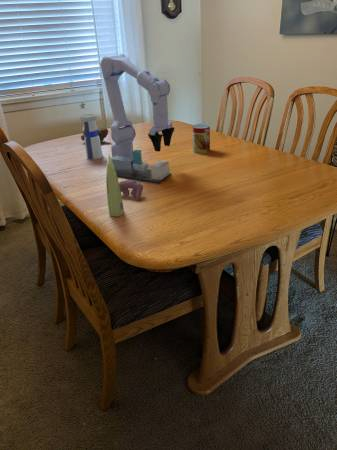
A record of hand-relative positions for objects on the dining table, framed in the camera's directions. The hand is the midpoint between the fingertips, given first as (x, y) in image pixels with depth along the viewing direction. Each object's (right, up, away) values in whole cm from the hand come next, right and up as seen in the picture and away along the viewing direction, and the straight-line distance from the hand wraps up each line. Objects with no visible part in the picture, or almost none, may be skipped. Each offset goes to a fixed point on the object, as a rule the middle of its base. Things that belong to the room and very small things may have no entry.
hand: (162, 148), depth 152 cm
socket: (-1, -13, -2) cm, 13 cm away
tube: (-15, -27, -27) cm, 41 cm away
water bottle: (-33, +1, +28) cm, 43 cm away
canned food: (+18, +4, +27) cm, 33 cm away
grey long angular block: (-10, -11, +3) cm, 15 cm away
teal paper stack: (-13, -7, +3) cm, 15 cm away
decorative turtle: (-36, +13, +49) cm, 62 cm away
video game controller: (-12, -21, -15) cm, 28 cm away
